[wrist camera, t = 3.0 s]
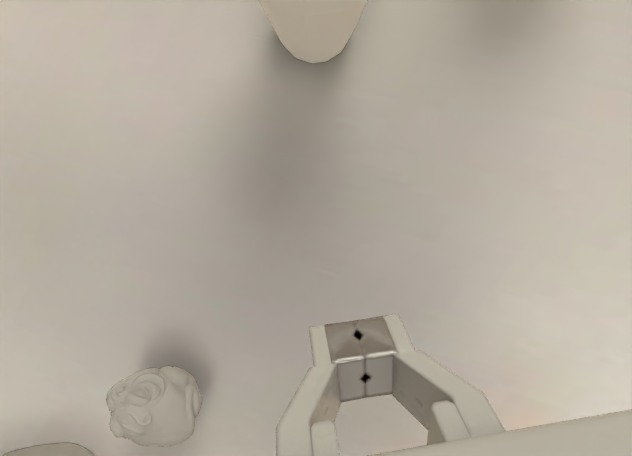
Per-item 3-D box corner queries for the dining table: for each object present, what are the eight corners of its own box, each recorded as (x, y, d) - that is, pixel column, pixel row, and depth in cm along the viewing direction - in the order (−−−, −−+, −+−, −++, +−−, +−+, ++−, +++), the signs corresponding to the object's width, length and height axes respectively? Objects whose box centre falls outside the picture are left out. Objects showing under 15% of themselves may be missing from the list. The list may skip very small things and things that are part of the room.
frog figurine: (164, 333, 33) (123, 366, 26) (228, 380, 33) (203, 425, 26) (125, 386, 33) (73, 433, 26) (188, 432, 33) (153, 491, 26)
